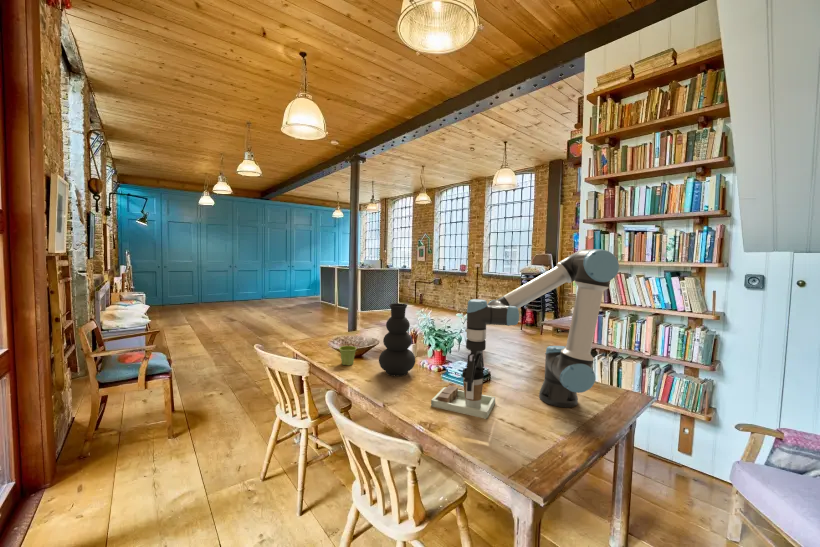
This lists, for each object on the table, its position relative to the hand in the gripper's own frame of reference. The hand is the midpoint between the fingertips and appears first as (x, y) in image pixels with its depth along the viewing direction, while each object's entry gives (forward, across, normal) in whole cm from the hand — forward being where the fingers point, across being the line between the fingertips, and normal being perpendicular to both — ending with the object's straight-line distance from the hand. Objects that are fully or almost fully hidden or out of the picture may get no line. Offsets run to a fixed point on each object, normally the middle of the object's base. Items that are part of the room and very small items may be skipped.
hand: (474, 392), depth 137 cm
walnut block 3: (+6, -4, -11) cm, 13 cm away
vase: (+7, -21, -45) cm, 50 cm away
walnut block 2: (+6, 0, -11) cm, 13 cm away
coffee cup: (+6, 0, 0) cm, 6 cm away
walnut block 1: (+6, +4, -11) cm, 13 cm away
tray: (+7, 0, -4) cm, 8 cm away
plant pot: (+7, -21, -75) cm, 78 cm away
